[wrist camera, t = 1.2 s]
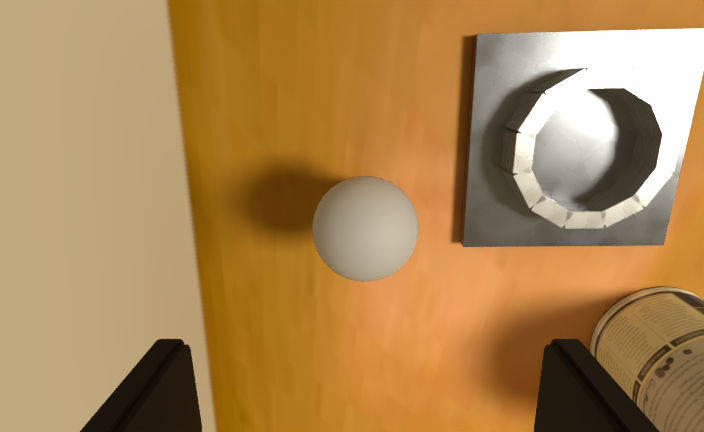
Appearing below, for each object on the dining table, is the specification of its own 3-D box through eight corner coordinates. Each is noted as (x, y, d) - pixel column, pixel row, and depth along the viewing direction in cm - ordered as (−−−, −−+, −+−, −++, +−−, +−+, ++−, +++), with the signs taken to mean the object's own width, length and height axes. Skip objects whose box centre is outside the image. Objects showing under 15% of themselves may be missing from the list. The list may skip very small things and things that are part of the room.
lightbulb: (315, 217, 32) (291, 282, 22) (338, 143, 30) (325, 174, 20) (388, 241, 33) (400, 315, 22) (416, 169, 31) (443, 212, 20)
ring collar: (473, 35, 28) (488, 29, 25) (700, 30, 27) (747, 22, 24) (460, 242, 32) (471, 260, 29) (654, 240, 32) (688, 258, 29)
